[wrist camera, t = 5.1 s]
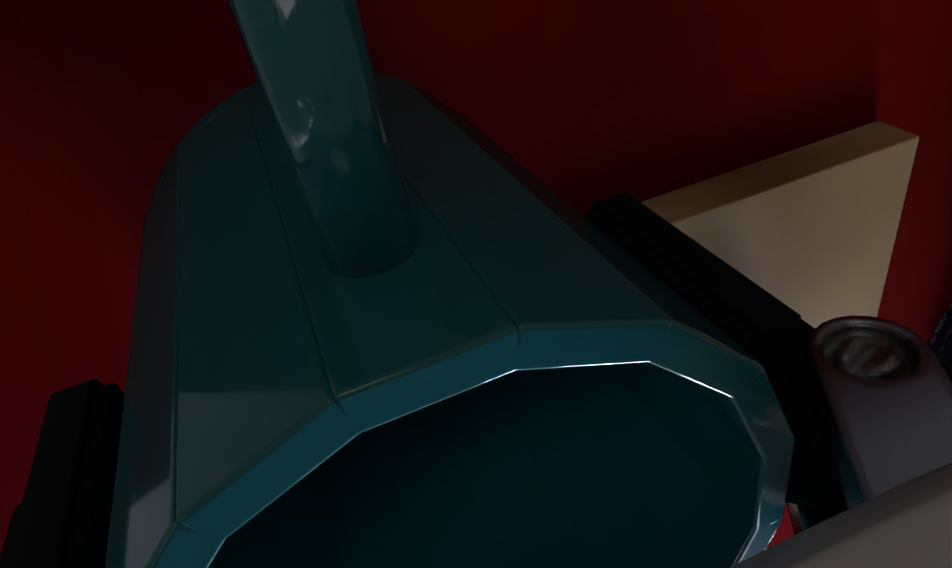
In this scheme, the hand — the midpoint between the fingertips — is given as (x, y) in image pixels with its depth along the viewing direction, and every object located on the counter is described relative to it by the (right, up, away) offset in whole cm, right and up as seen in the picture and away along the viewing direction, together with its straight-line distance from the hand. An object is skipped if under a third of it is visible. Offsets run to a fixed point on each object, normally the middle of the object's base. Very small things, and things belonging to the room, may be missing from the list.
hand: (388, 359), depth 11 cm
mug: (-2, +4, +2) cm, 5 cm away
